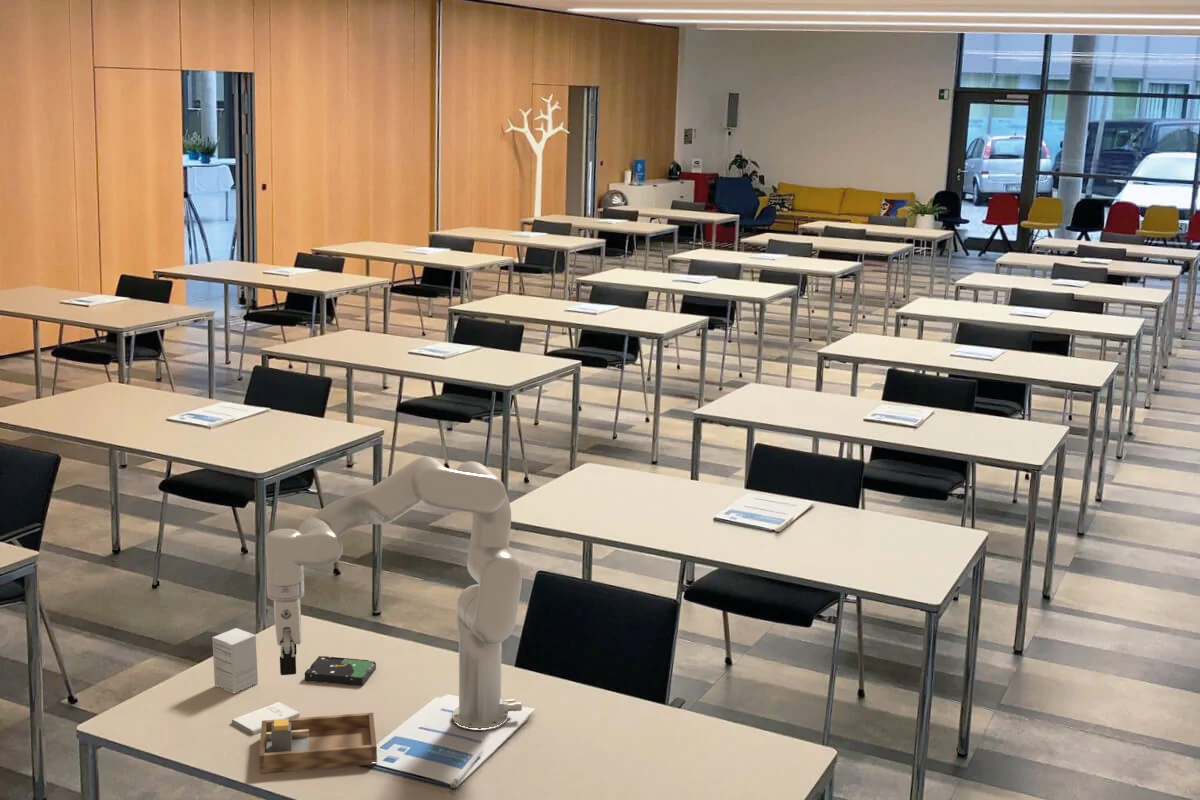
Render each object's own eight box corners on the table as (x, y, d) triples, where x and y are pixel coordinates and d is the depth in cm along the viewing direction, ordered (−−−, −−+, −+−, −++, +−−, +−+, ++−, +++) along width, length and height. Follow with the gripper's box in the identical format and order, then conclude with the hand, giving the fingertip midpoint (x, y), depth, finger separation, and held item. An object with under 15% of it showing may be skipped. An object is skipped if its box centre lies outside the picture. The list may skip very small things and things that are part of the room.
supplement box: (238, 675, 318) (236, 626, 315) (258, 684, 314) (256, 634, 311) (213, 686, 312) (211, 636, 310) (233, 694, 308) (231, 644, 305)
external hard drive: (231, 725, 295) (278, 707, 304) (253, 737, 289) (299, 718, 299) (231, 718, 294) (278, 700, 303) (252, 730, 289) (299, 711, 298)
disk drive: (304, 683, 316) (363, 688, 314) (303, 673, 316) (363, 677, 314) (318, 665, 326) (376, 669, 324) (318, 655, 326) (376, 659, 324)
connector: (291, 743, 283) (290, 717, 282) (291, 752, 280) (290, 726, 278) (272, 744, 283) (271, 718, 281) (272, 753, 279) (271, 727, 277)
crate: (373, 728, 293) (373, 712, 292) (376, 763, 278) (376, 746, 277) (262, 737, 288) (261, 720, 287) (259, 773, 273) (259, 755, 272)
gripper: (304, 602, 266) (306, 680, 270) (304, 572, 283) (306, 646, 287) (266, 604, 265) (269, 683, 268) (268, 574, 281) (271, 649, 285)
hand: (288, 664), depth 277 cm, fingers open, 9 cm apart
